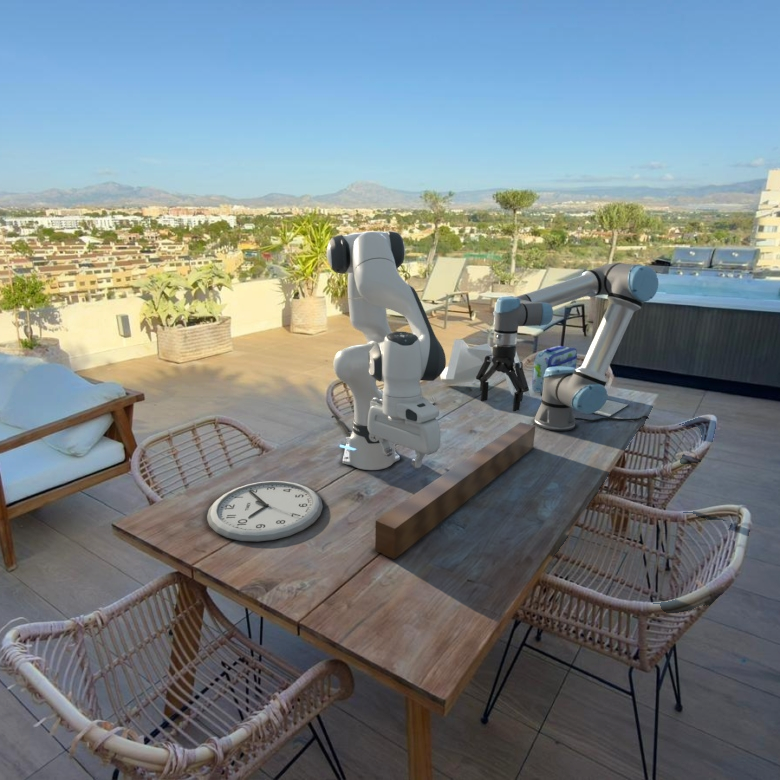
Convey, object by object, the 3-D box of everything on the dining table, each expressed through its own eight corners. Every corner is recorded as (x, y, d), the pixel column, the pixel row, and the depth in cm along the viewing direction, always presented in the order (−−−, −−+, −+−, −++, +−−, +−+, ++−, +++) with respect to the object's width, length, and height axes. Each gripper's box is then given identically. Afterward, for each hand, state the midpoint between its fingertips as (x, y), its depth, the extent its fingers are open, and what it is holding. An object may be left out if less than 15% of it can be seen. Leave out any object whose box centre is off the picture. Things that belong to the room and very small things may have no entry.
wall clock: (320, 533, 126) (192, 537, 124) (320, 539, 127) (193, 543, 124) (324, 476, 155) (220, 479, 152) (324, 481, 155) (221, 484, 153)
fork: (420, 411, 216) (420, 406, 216) (430, 400, 230) (431, 395, 230) (426, 412, 215) (426, 407, 215) (436, 401, 230) (436, 396, 229)
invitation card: (608, 416, 214) (573, 407, 224) (608, 416, 214) (573, 408, 224) (628, 404, 229) (594, 396, 238) (628, 405, 229) (594, 397, 238)
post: (518, 443, 186) (520, 422, 184) (533, 447, 183) (535, 425, 181) (375, 550, 123) (375, 520, 121) (394, 559, 120) (394, 528, 118)
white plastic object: (461, 429, 252) (437, 405, 227) (444, 352, 274) (420, 323, 250) (535, 404, 240) (518, 377, 215) (510, 326, 262) (492, 293, 237)
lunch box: (548, 399, 235) (554, 353, 228) (527, 393, 242) (532, 349, 236) (576, 387, 252) (581, 345, 246) (555, 383, 259) (560, 341, 253)
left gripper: (360, 398, 124) (361, 452, 127) (426, 417, 110) (425, 478, 113) (380, 392, 128) (380, 445, 132) (445, 411, 114) (443, 469, 118)
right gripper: (468, 339, 179) (464, 398, 185) (530, 353, 161) (523, 417, 168) (482, 337, 184) (478, 394, 190) (543, 349, 166) (537, 412, 172)
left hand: (401, 460), depth 122 cm, fingers open, 8 cm apart
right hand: (499, 405), depth 179 cm, fingers open, 13 cm apart
